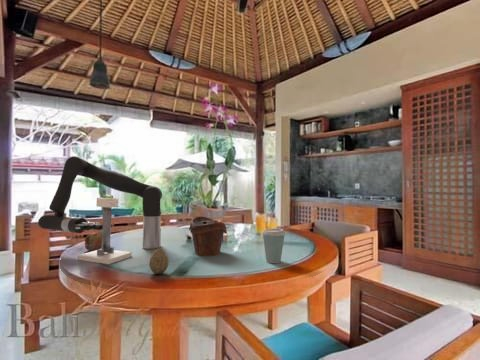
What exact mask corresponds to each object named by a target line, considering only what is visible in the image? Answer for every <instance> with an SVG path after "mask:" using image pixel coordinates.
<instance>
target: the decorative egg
mask: <svg viewBox="0 0 480 360" xmlns="http://www.w3.org/2000/svg"><path fill="white" fill-rule="evenodd" d="M168 267H169V257H168V255H167V253H166V252H165V251H164V250H163V249H162V248H161V247H160V248H156V250H155V251H154V252H153V253H152V254H151V256H150V258H149V269H150V270H151V272H152V273H153V274H154V275H161V274H163V273H165V272H166V271H167V269H168Z"/></svg>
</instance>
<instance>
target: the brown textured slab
mask: <svg viewBox="0 0 480 360" xmlns="http://www.w3.org/2000/svg"><path fill="white" fill-rule="evenodd" d="M84 247H85V249H86V251H95V250H98V249H101V247H102V231H95V232H92V233H89V234H87V235H86V237H85V240H84Z"/></svg>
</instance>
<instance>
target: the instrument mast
mask: <svg viewBox="0 0 480 360" xmlns="http://www.w3.org/2000/svg"><path fill="white" fill-rule="evenodd" d="M95 204H96V208H99V207H100V208H102V220H101V222H102V224H101V225H102V230H101V232H102V246H101V247H100V249H101V250H104V253H105V252H110V247H111V235H112V234H111V232H112V228H111V227H112V208H119V197H114V195H111V194H103V195H102V196H101V197H96V203H95Z"/></svg>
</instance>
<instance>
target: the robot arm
mask: <svg viewBox="0 0 480 360" xmlns="http://www.w3.org/2000/svg"><path fill="white" fill-rule="evenodd" d="M78 176H79V177H83V178H87V179H91V180H93V181H96V182H97V183H99V184H101V185H103V186H105V187H106V188H110V189H113V190H115V191H118V192H122V193H127V194H131V195H136V196H138V197H140V198H142V213H143V214H142V216H143V219H142V249H145V250H146V249H147V250H152V249H159V248H160V249H161V246H162V245H161V244H162V241H161V240H162V228H161V227H162V226H161V225H162V224H161V223H162V218H161V217H162V211H161V199H162V197H163V192H162V190H161V189H160V188H159V187H157V186H154V185H150V184H145V183H142V182H140V181H138V180H136V179H134V178H132V177H129V176H128V175H125V174H122V173H120V172H117V171H115V170H111V169H107V168H103V167H101V166H100V167H99V166H97V165H94V164H92V163H90V162H89V161H86V160H85V159H83V158H82V157H80V156H74V155H73V156H70V157H68V158H67V159H66V160H65V163H64V166H63V170H62V174H61V177H60V180H59V184H58V186H57V189H56V191H55V193H54V195H53V198H52V200H51V202H50V203H49V204H50V205H49V210H50V211H51V212H52V211H53V212H54V215H52V214H51V215H50V214H44V215H42V216H40V217H39V219H38V221H37V224H38V226H39V228H40V229H43V230H52V231H60V232H67V233H72V234H82V233H84V232H85V231H87V232H89V231H94V230H95V231H102V224H100V222H98V221H96V222H94V221H93V222H91V221H87V219H86V218H85V217H79V216H65V211H66V209H67V207H68V203H69V202H70V199H71V195H72V189H73V185H74V182H75V180H76V178H77V177H78Z"/></svg>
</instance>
